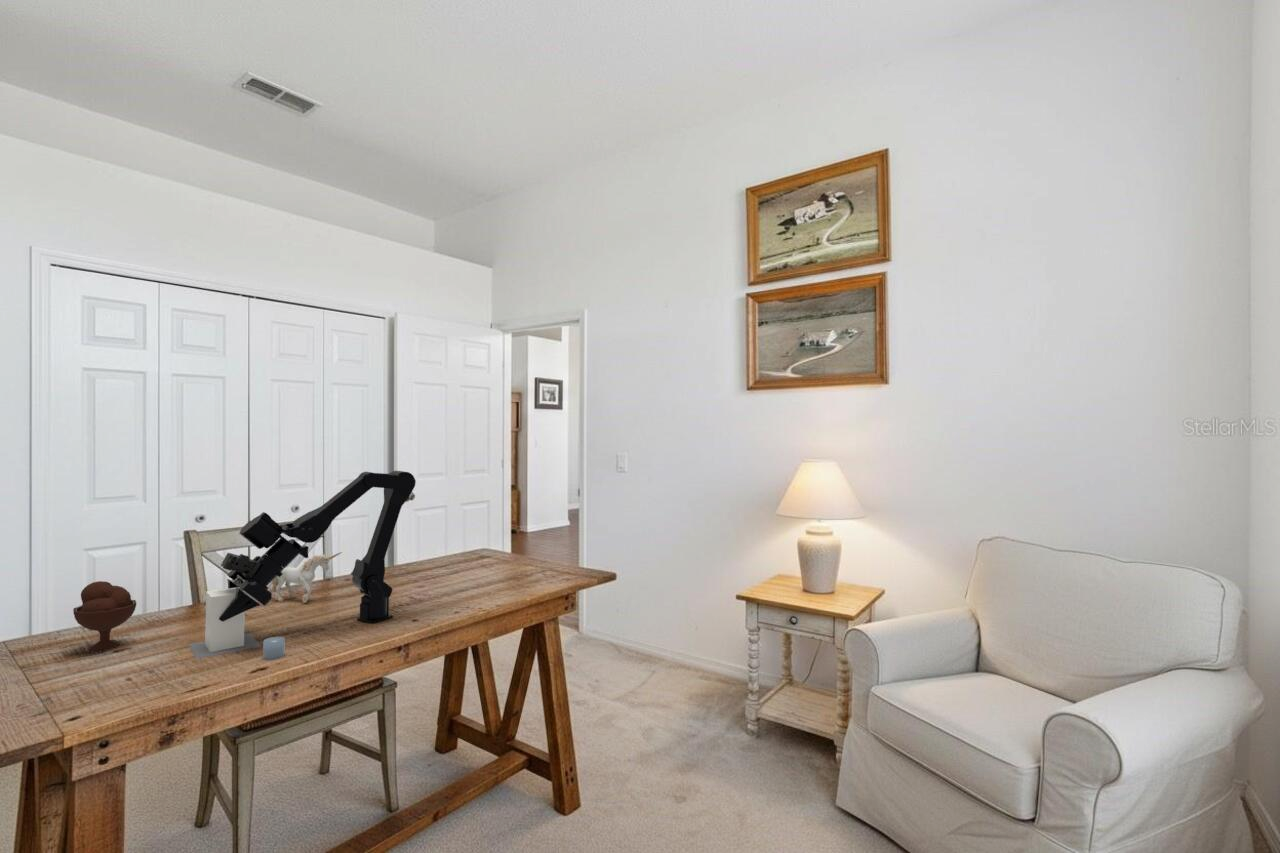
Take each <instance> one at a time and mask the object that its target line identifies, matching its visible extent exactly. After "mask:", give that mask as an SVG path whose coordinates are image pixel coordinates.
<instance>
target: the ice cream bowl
mask: <svg viewBox="0 0 1280 853" xmlns="http://www.w3.org/2000/svg"><path fill="white" fill-rule="evenodd" d="M80 600H81V603H82V605H79V606H76V607H73V611H72V612H73V615H74V620H75V621H76V622H77V624H79V625H80V626H81V627H83V628H85V629H88V630H91V631H97V632H98V634H99V641H97V642H95V643H94V644H92V645H91V646H89V647H88V652H89V651H93V652H92V653H94V652H97V653H104V652H103V651H106V650H110V649H114V648H116V647H118V646H120V642H118V641H116V640H112V639H111V637H110V636H111V631H112V629H114V628H117V627H119V626H120V625H122V624H124V623H126V621H128V620H129V619H130V618H131V617H133V614H134V612H135V611H136V607H137V604H138V603H137V601H136V599H132V596H131V594H130V592H129V591H128V590H127V589H126V588H125V587H123V586H119V585H113V584H112V583H110V582H108V581H101V580H100V581H98V580H97V581H94V582H91V583H88V584H87V585H86V586H84V588H83V589H82V590H81V593H80ZM100 651H101V652H100Z"/></svg>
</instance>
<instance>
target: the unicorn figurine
mask: <svg viewBox="0 0 1280 853" xmlns="http://www.w3.org/2000/svg"><path fill="white" fill-rule="evenodd" d="M341 554H343V552H342V551H340V552H338V553H334V555H331V556H329V555H328V556H326V555H327V554H326V553H324V554H319V555H314V556H312V557H311V558H309V559H307V561H304V562H303V565H302V566H300V567H292V566H287V567H286V568H285V569H284V570H283V571H282V572H281V573H283V574H282V575H281V576H280V577H278V576H277V577H276V578H275V579H274V580H273V581H272V582H271V583H270V584H271V585H272V588H271V590H269V592H271V593H272V594H273V593H275V594H274V599H275V600H276V601H278V602H279V603H283V602H285V600H284V598H283V597H282V596H281V594H280V590H282V587H283V585H284V586H285V587H286V588H287V589H288V594H289V598H291V599H292V598H294V599H295V597H296V593H295V592H296V591H295V590H294V588H292V586H291V584H294V585H302V586H303V587H304V588H305V591H304V592H303V594H302V597H301V603H302V604H306V603H307V602H308V601H309V602H310V601H312V600H313V599H312V597H311V592H312V589H311V585H312V583H313V580H314V579H315V577H316V576H315V575H316V574H315V571H316V569H317V568H318V567H319V566H320V567H321V568H322V571H324V572H327V571H328V570H329V569H330V567H329V562H330V560H332V559H333V558H335V557H337V556H339V555H341Z"/></svg>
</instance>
